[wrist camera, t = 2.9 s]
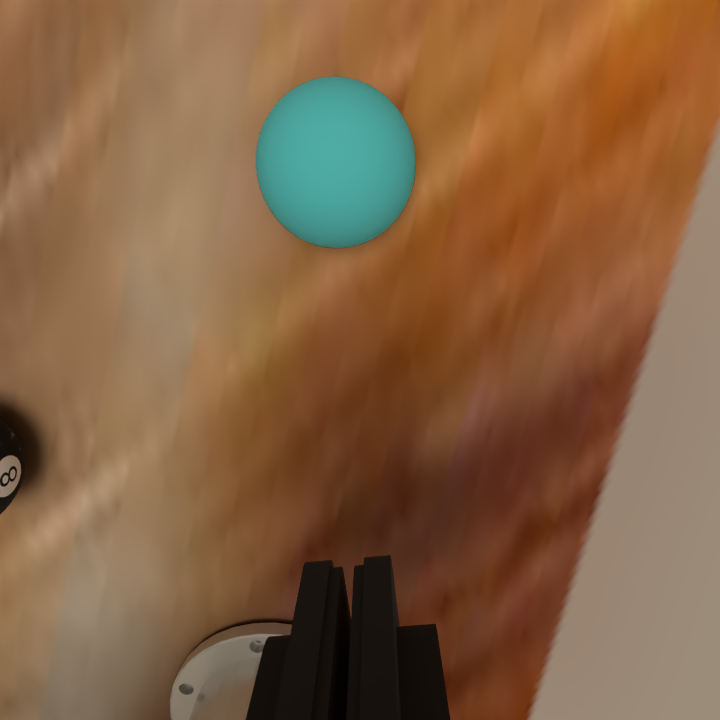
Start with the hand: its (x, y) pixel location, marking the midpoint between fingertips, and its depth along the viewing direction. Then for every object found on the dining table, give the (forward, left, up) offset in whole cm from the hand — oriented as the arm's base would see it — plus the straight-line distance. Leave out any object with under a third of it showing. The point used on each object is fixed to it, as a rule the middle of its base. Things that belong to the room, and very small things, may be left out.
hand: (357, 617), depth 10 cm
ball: (+9, 0, -12) cm, 15 cm away
